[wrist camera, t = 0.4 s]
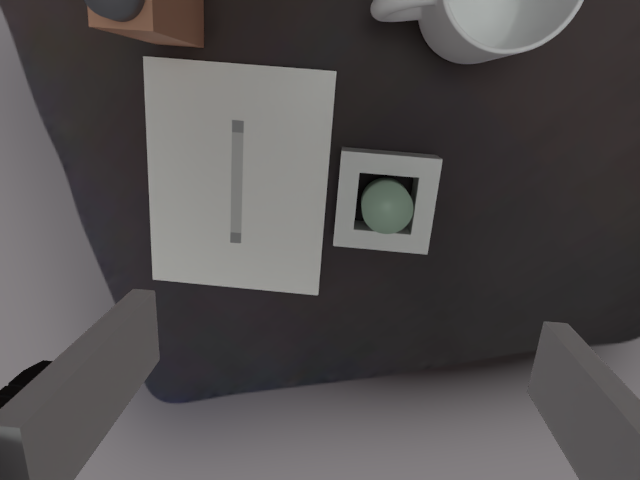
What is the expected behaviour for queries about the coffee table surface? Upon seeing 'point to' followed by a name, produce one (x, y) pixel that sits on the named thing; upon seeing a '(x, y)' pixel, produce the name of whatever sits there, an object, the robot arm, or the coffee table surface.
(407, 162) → the button housing
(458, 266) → the coffee table surface
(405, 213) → the button
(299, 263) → the paper
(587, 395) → the robot arm
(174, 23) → the block with dark dome
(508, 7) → the mug
